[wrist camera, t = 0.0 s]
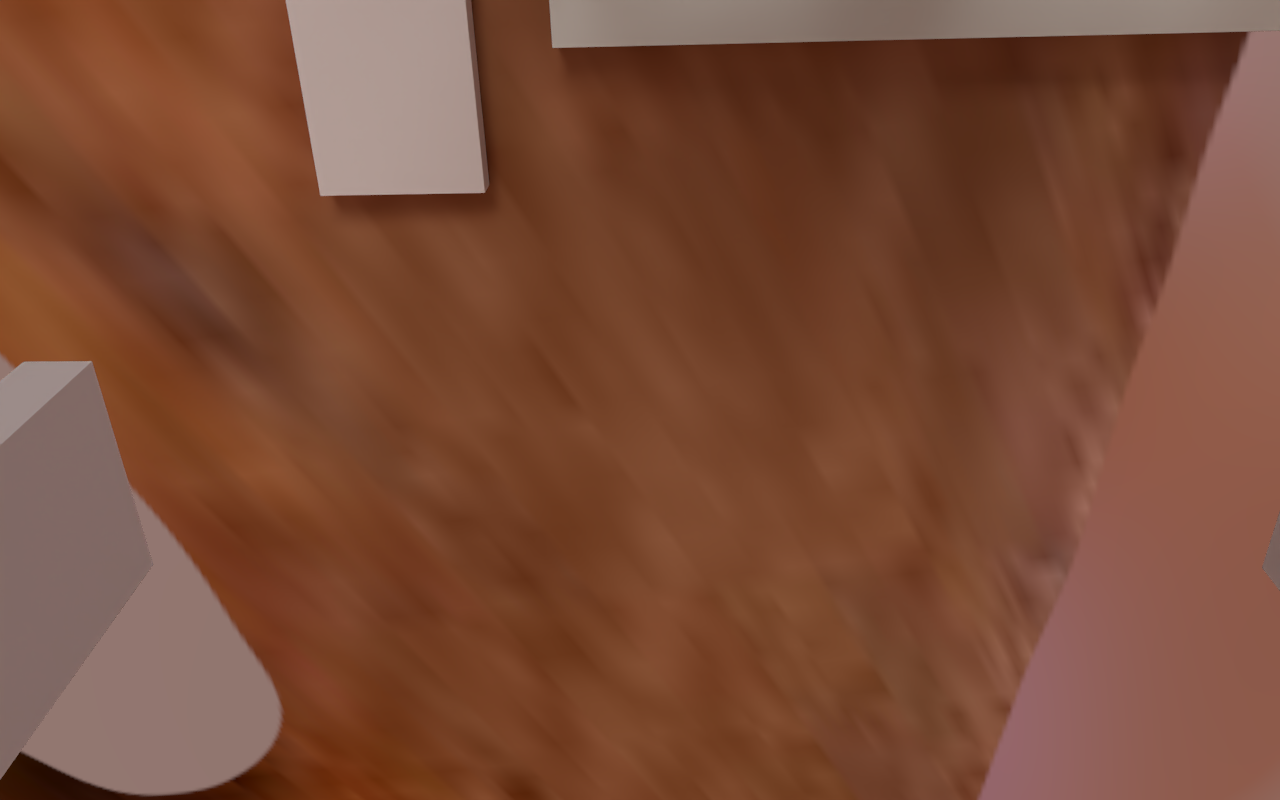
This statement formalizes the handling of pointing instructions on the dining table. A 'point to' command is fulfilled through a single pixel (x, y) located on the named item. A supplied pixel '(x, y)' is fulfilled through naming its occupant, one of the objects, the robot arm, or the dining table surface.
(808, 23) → the white and grey stand
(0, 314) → the dining table surface
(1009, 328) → the dining table surface
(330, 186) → the tile
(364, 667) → the dining table surface
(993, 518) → the dining table surface
